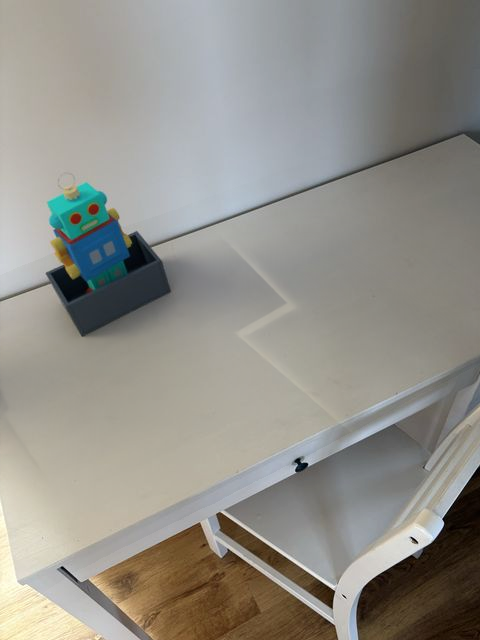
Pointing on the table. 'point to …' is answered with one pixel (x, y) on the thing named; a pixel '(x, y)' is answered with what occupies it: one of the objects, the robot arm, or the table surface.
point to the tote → (112, 289)
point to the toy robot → (88, 235)
